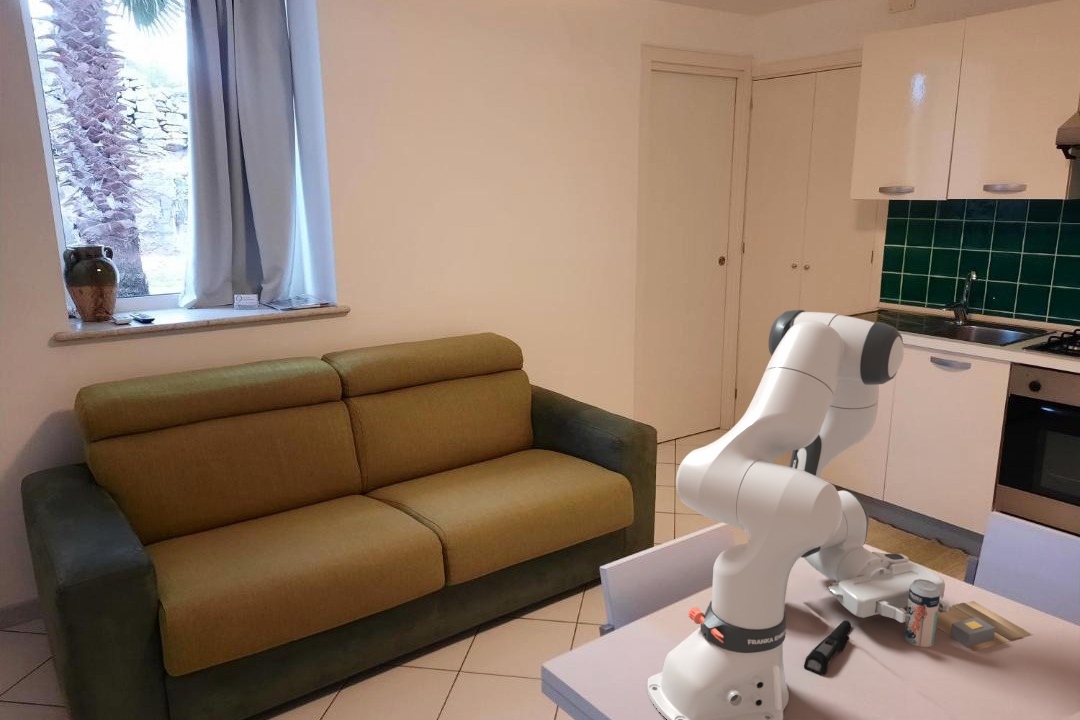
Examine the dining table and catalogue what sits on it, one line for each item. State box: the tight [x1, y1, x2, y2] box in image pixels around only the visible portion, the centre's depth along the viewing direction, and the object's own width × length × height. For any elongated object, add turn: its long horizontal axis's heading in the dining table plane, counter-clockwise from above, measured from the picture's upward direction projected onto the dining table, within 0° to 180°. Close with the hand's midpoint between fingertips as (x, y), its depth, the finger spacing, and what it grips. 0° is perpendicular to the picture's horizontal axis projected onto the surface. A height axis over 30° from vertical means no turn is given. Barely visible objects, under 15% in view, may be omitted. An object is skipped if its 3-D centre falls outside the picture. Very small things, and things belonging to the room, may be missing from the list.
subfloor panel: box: [936, 600, 1033, 652], centre depth 137 cm, size 14×12×2 cm
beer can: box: [903, 579, 940, 648], centre depth 132 cm, size 5×5×12 cm
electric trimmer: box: [803, 619, 852, 676], centre depth 131 cm, size 4×16×3 cm, turn 138°
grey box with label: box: [949, 617, 995, 648], centre depth 133 cm, size 6×4×3 cm, turn 110°
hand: (926, 613), depth 131 cm, fingers open, 8 cm apart
